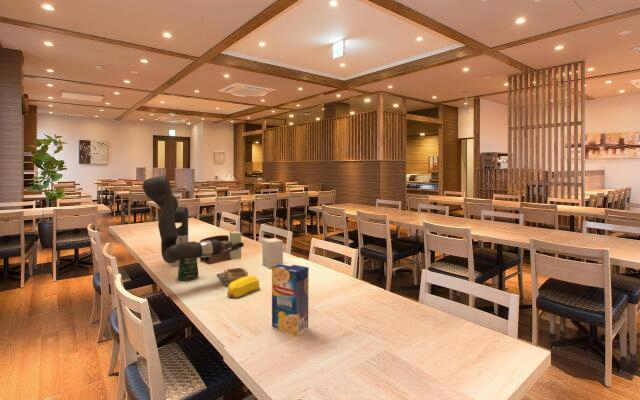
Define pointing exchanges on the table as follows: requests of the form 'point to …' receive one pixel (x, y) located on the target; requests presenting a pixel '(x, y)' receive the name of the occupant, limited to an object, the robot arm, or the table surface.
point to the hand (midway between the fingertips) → (239, 243)
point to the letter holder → (223, 254)
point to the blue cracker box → (290, 297)
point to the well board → (232, 275)
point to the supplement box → (272, 252)
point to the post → (234, 238)
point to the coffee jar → (187, 267)
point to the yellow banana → (243, 286)
